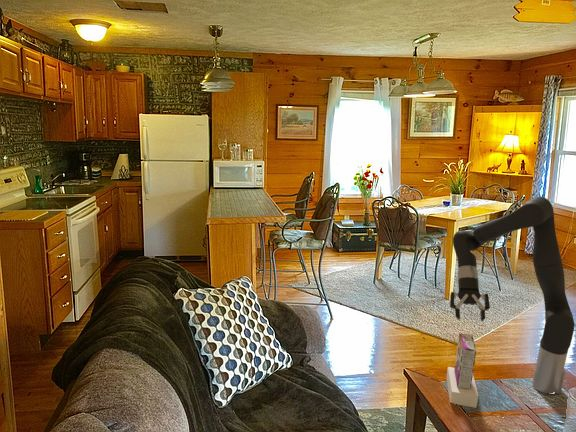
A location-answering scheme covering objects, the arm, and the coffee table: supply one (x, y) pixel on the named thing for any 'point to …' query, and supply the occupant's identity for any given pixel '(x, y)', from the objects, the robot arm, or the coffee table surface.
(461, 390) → the plain white box
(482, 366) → the coffee table surface
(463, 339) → the candy bar box
